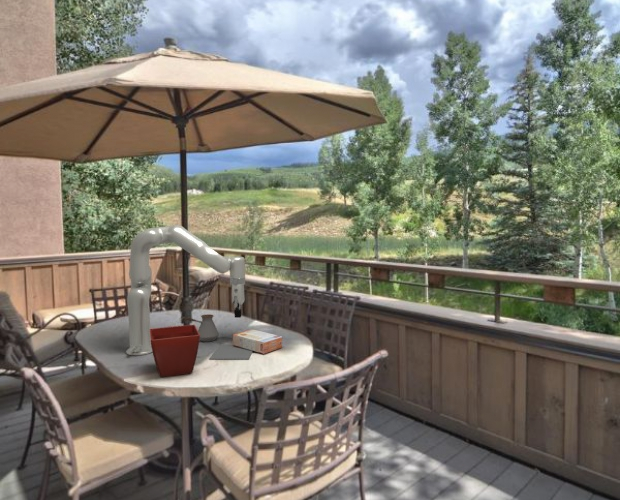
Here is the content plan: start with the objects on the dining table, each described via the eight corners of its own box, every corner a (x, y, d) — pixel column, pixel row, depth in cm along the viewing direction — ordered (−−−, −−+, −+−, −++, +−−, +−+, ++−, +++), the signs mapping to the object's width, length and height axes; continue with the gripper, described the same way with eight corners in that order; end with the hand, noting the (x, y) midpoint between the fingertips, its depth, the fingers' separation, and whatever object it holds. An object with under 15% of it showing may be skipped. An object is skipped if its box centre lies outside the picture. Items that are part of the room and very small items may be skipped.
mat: (248, 359, 199) (248, 358, 199) (209, 359, 200) (209, 358, 200) (255, 345, 221) (255, 344, 221) (220, 345, 222) (220, 344, 222)
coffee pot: (210, 335, 240) (210, 308, 238) (223, 339, 232) (222, 311, 230) (175, 343, 224) (174, 314, 223) (187, 348, 216) (186, 318, 215)
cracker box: (232, 345, 218) (263, 354, 206) (232, 333, 217) (264, 341, 205) (251, 340, 229) (282, 348, 217) (251, 328, 229) (283, 336, 217)
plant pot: (150, 366, 192) (149, 328, 190) (195, 360, 198) (194, 324, 197) (151, 381, 174) (150, 339, 172) (201, 375, 181) (200, 335, 179)
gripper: (242, 283, 213) (242, 320, 215) (247, 279, 228) (247, 313, 229) (227, 283, 213) (227, 320, 215) (232, 279, 228) (233, 313, 230)
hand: (238, 317), depth 222 cm, fingers closed
